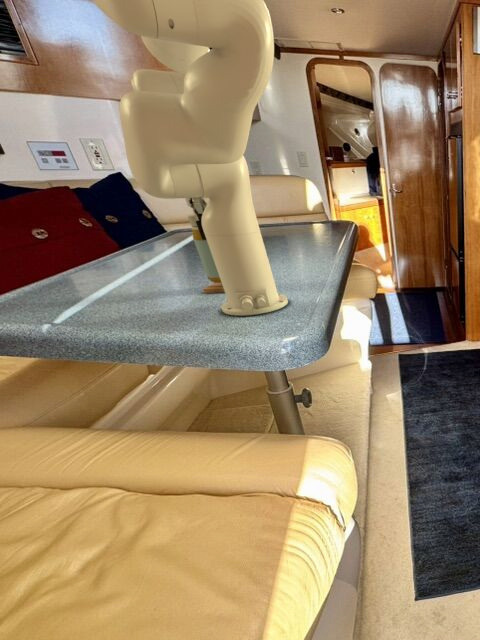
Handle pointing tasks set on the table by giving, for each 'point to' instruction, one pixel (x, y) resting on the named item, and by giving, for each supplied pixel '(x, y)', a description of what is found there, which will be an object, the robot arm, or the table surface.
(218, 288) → the trivet
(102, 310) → the table surface
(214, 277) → the bottle
